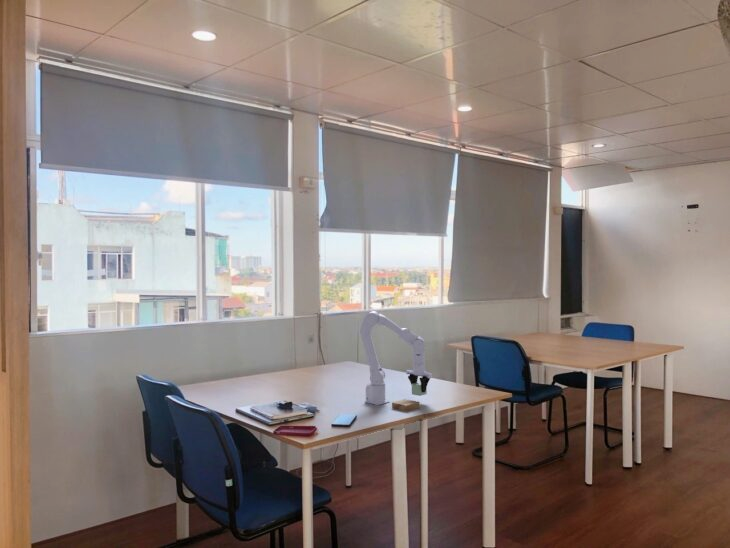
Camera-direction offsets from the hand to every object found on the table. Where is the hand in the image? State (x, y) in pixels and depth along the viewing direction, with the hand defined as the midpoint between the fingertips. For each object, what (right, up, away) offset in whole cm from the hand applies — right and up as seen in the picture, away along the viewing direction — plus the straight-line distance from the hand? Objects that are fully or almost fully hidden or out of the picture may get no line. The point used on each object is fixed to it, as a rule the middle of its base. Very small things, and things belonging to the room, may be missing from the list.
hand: (419, 391), depth 278 cm
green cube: (0, -2, 0) cm, 2 cm away
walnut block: (-7, -7, -8) cm, 13 cm away
